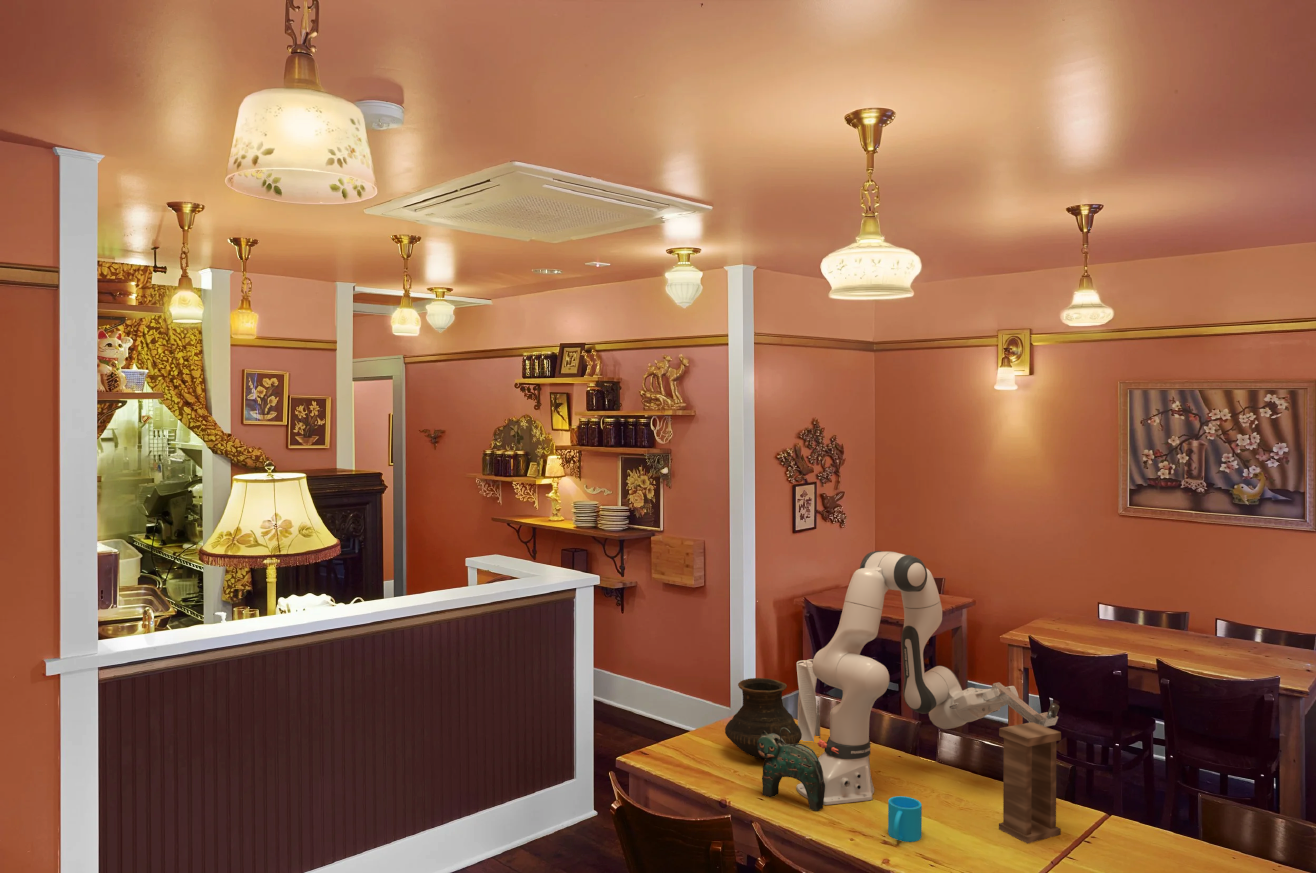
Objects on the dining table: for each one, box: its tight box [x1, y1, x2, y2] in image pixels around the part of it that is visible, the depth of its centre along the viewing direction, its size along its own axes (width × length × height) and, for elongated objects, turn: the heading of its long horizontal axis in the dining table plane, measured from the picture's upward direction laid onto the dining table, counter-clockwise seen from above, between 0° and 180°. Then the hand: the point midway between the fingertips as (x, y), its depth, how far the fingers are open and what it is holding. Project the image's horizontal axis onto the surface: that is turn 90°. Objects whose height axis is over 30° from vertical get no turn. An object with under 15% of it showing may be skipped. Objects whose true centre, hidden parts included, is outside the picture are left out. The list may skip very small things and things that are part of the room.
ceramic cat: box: [757, 727, 825, 812], centre depth 242 cm, size 20×6×20 cm, turn 50°
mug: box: [887, 795, 923, 843], centre depth 220 cm, size 12×8×8 cm
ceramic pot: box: [724, 677, 802, 760], centre depth 278 cm, size 24×24×22 cm
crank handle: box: [990, 682, 1060, 728], centre depth 243 cm, size 17×7×6 cm, turn 27°
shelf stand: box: [998, 722, 1062, 844], centre depth 224 cm, size 12×9×26 cm
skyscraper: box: [796, 658, 821, 742], centre depth 293 cm, size 8×8×28 cm
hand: (1005, 690), depth 246 cm, fingers closed on crank handle, 2 cm apart
